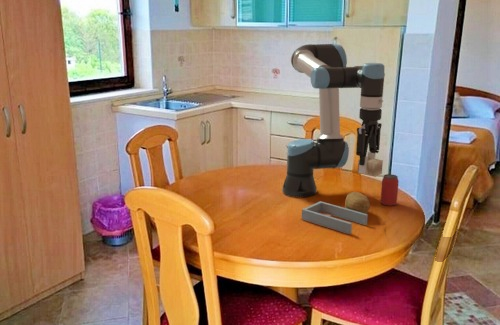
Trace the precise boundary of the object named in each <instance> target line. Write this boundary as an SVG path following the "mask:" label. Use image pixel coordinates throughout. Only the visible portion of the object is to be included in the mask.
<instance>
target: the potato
mask: <svg viewBox="0 0 500 325" xmlns="http://www.w3.org/2000/svg"><path fill="white" fill-rule="evenodd" d="M344 204H345V205H344V206H345V208H347V209H350V210H354V211H357V212H361V213H364V214H368V213H369V210H370V208H371V203H370V199H369V198H368V197H367V195H365V194H363V193H360V192H359V191H353V192H352V191H351V192H349V193H348V194H346V198H345V202H344Z"/></svg>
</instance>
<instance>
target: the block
mask: <svg viewBox="0 0 500 325" xmlns="http://www.w3.org/2000/svg"><path fill="white" fill-rule="evenodd" d="M359 160H360V158H359V159H358V161H357V164H358V165H357V174H360V175H362V174H361V173H359ZM383 164H384V160H382V159H378V158H377V159H376V158H375V159H373V158H367V173H366V174H363V175H364V176H369V177H373V178H374V177H375V178H376V177H378V176H380V175H382V174H383Z"/></svg>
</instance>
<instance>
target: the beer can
mask: <svg viewBox="0 0 500 325" xmlns="http://www.w3.org/2000/svg"><path fill="white" fill-rule="evenodd" d="M398 177H399V176H398V175H396V174H392V173H389V174H388V173H387V174H383V178H382V180H381V189H380V190H381V192H380V204H382V205H384V206H386V207H387V206H388V207H391V206H392V207H393V206H396V204H397V203H398V193H399V192H398V190H399V178H398Z"/></svg>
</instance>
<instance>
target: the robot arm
mask: <svg viewBox="0 0 500 325" xmlns="http://www.w3.org/2000/svg"><path fill="white" fill-rule="evenodd" d="M290 62H291V65H292V68H293V69H294V70H295V72H296V71H297V73H301V74H305V75H306V76H307V77H309V78H310V84H311V86H312V88H314V89H316V90H317V89H318V95H319V97H318V99H319V134H318V137H316V142H315V141H314V140H313V139H312V138H300V139H296V140H292V141H291V142H290V143H288V145H287V149H286V150H287V152H286V176H285V178H284V183H283V185H282V193H283V194H284V195H286V196H289V197H293V198H308V197H312V196H315V195H316V194H317V190H318V189H317V185H316V181H315V178H314V170H320V169H323V170H325V169H337V168H338V169H339V168H343V167H344V166H345V165H346V164H347V162H348V159H349V153H350V149H349V148H350V147H349V143H348V142H347V141H345V140H344V136H343V135H341V123H340V121H341V120H340V89H357V88H358V89H360V100H359V101H360V102H359V107H360V109H359V116H358V118H359V119H360V120H361V127H357V128H356V133H357V134H356V135H357V136H356V147H355V148H356V150H355V154H356V156H359V159H360V160H359V159H358V160H359V173H361V174H360V175H364V174H366V173H367V158H373V159H376V154H379V151H380V144H381V142H380V141H381V129H382V123H379V121H381V119H382V114H383V113H382V107H383V103H384V100H383V97H384V87H385V86H384V85H385V84H384V83H385V77H386V73H385V65H384V63H380V62H379V63H378V62H364V63H363V64H362V65H355V66H347V63H348V59H347V54H346V51H345V48H344V47H343V46H342V45H341V44H335V43H325V44H324V43H320V44H319V43H318V44H312V43H310V44H309V43H308V44H304V45H301V46H299V47H298V48H296V49H295V50H294V51H293V53H292V54H291V57H290ZM359 173H358V174H359Z"/></svg>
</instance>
